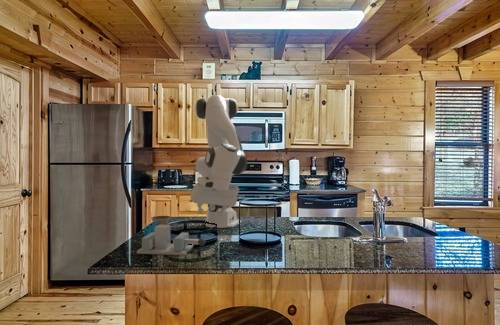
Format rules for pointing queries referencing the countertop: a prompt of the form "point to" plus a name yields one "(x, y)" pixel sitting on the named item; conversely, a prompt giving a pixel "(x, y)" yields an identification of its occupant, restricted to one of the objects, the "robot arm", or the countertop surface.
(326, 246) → the countertop surface
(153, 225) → the gear
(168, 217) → the flower pot
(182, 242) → the jaw
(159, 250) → the vise
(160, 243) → the block
